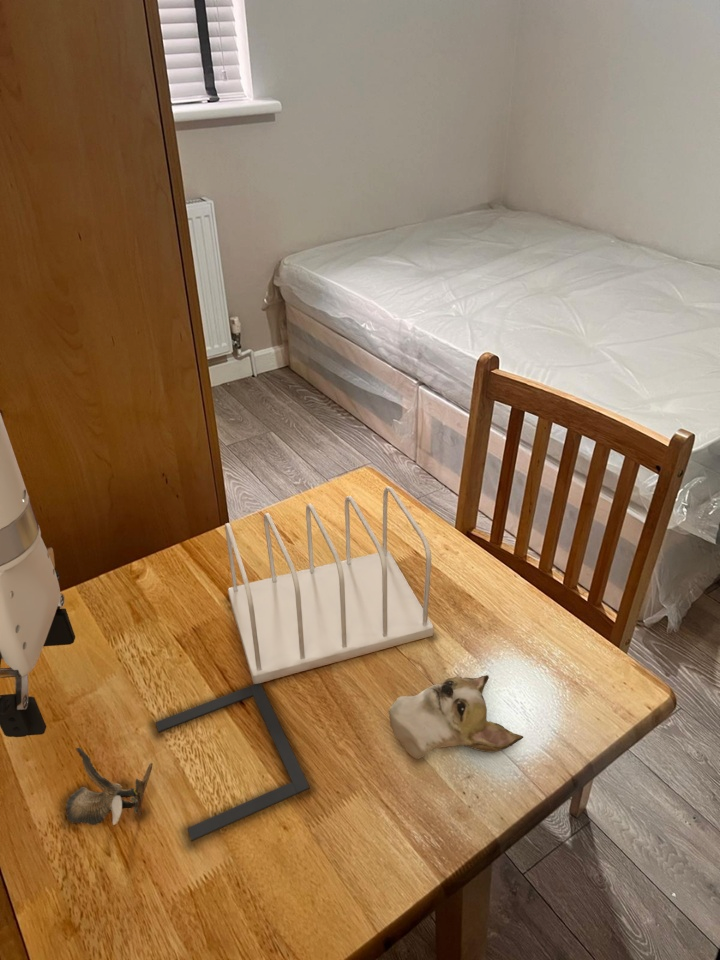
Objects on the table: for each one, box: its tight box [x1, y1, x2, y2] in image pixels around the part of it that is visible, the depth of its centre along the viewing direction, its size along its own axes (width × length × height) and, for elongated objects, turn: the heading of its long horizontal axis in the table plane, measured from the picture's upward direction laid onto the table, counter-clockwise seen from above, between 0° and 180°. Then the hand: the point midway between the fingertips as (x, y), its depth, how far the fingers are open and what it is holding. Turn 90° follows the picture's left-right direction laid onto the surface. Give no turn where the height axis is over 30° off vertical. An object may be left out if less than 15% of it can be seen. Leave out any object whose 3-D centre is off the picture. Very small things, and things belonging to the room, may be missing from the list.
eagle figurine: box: [65, 747, 153, 826], centre depth 79 cm, size 8×7×9 cm
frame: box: [155, 683, 310, 842], centre depth 85 cm, size 14×16×1 cm
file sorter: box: [224, 486, 434, 685], centre depth 99 cm, size 25×17×16 cm
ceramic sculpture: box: [388, 674, 524, 760], centre depth 85 cm, size 11×9×15 cm
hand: (43, 684), depth 63 cm, fingers open, 9 cm apart
